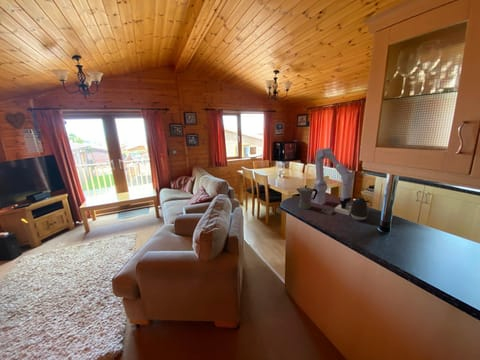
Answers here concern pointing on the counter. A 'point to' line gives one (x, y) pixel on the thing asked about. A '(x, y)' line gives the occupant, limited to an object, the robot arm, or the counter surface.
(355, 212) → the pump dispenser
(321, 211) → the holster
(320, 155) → the robot arm
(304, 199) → the coffeepot
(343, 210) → the port
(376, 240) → the counter surface
